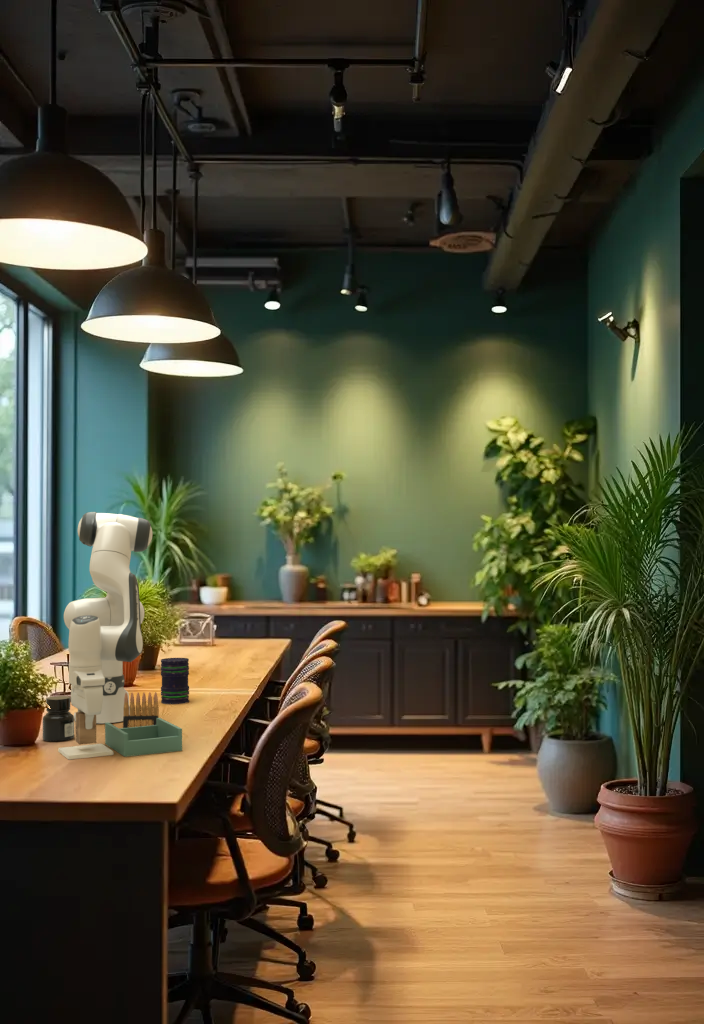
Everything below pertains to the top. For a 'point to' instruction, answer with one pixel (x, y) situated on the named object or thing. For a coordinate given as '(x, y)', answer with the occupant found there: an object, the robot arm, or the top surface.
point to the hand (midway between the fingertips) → (85, 727)
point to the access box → (144, 738)
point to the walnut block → (84, 730)
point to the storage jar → (174, 680)
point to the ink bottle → (58, 720)
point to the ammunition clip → (140, 711)
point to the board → (85, 751)
